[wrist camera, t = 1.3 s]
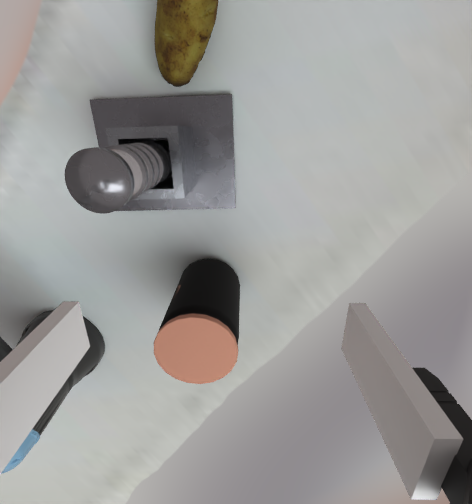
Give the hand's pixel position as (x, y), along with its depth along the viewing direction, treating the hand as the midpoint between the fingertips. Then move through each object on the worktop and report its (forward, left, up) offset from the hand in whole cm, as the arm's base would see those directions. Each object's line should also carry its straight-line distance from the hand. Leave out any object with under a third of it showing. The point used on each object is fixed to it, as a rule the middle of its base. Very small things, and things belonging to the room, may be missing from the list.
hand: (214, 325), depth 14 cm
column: (-10, +5, -33) cm, 35 cm away
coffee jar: (-5, -17, -35) cm, 39 cm away
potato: (-5, +21, -35) cm, 41 cm away
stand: (-10, +5, -34) cm, 36 cm away
